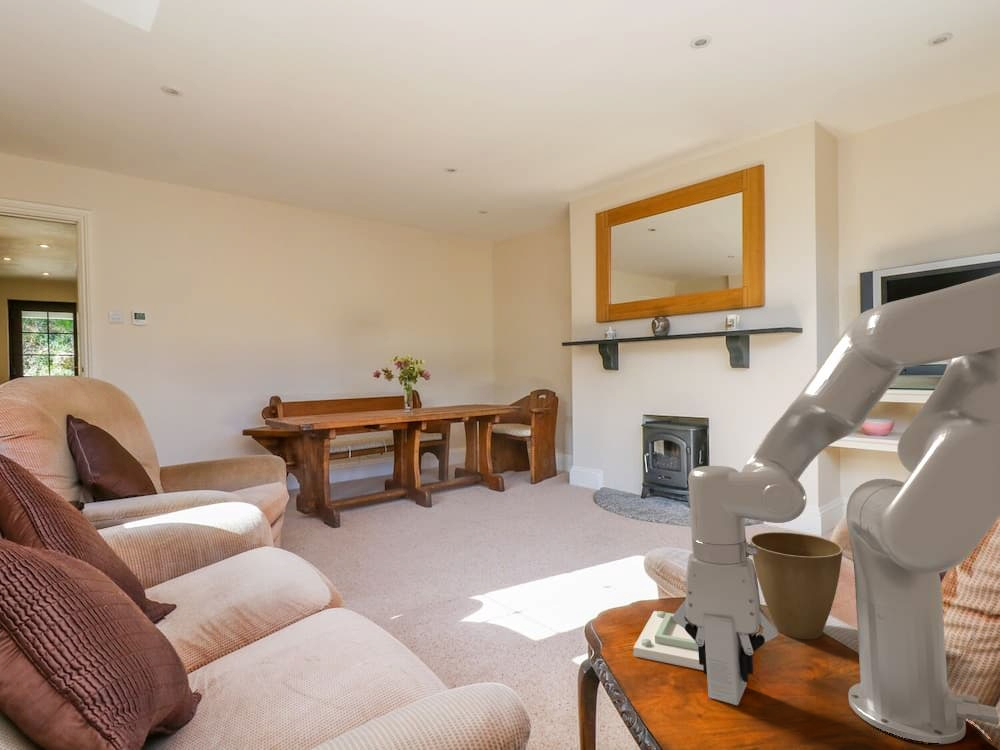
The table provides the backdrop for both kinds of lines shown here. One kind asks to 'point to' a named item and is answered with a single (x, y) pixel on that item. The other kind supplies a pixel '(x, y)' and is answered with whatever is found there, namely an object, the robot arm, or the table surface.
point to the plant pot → (797, 580)
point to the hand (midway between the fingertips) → (726, 672)
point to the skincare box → (723, 659)
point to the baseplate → (667, 642)
